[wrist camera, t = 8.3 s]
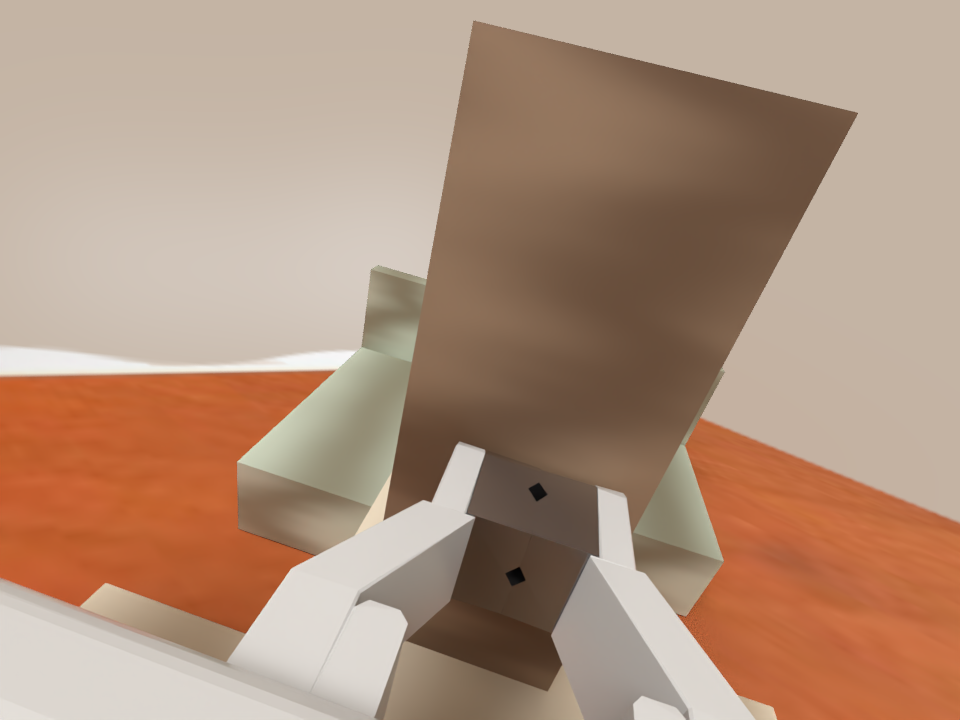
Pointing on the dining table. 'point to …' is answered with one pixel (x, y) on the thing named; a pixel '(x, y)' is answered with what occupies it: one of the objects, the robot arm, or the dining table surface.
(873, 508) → the dining table surface
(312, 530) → the cream block stand
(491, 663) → the walnut block
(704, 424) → the dining table surface
